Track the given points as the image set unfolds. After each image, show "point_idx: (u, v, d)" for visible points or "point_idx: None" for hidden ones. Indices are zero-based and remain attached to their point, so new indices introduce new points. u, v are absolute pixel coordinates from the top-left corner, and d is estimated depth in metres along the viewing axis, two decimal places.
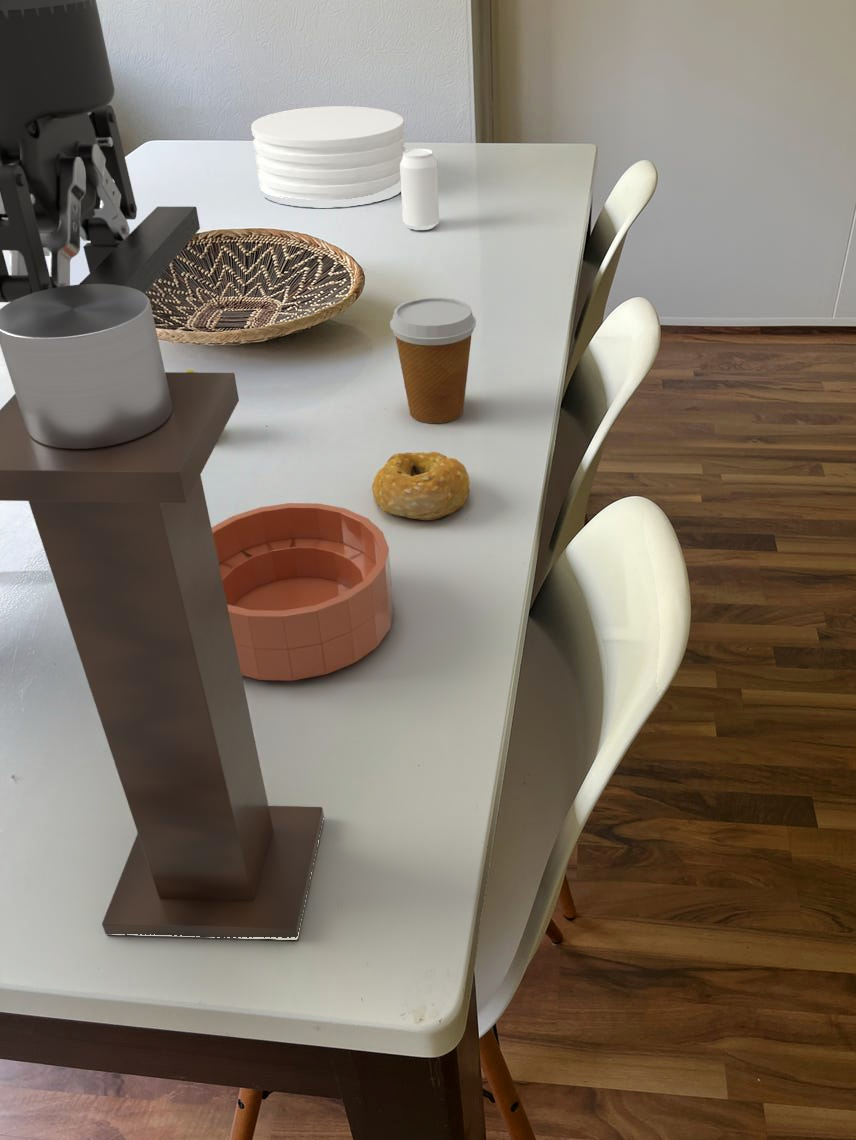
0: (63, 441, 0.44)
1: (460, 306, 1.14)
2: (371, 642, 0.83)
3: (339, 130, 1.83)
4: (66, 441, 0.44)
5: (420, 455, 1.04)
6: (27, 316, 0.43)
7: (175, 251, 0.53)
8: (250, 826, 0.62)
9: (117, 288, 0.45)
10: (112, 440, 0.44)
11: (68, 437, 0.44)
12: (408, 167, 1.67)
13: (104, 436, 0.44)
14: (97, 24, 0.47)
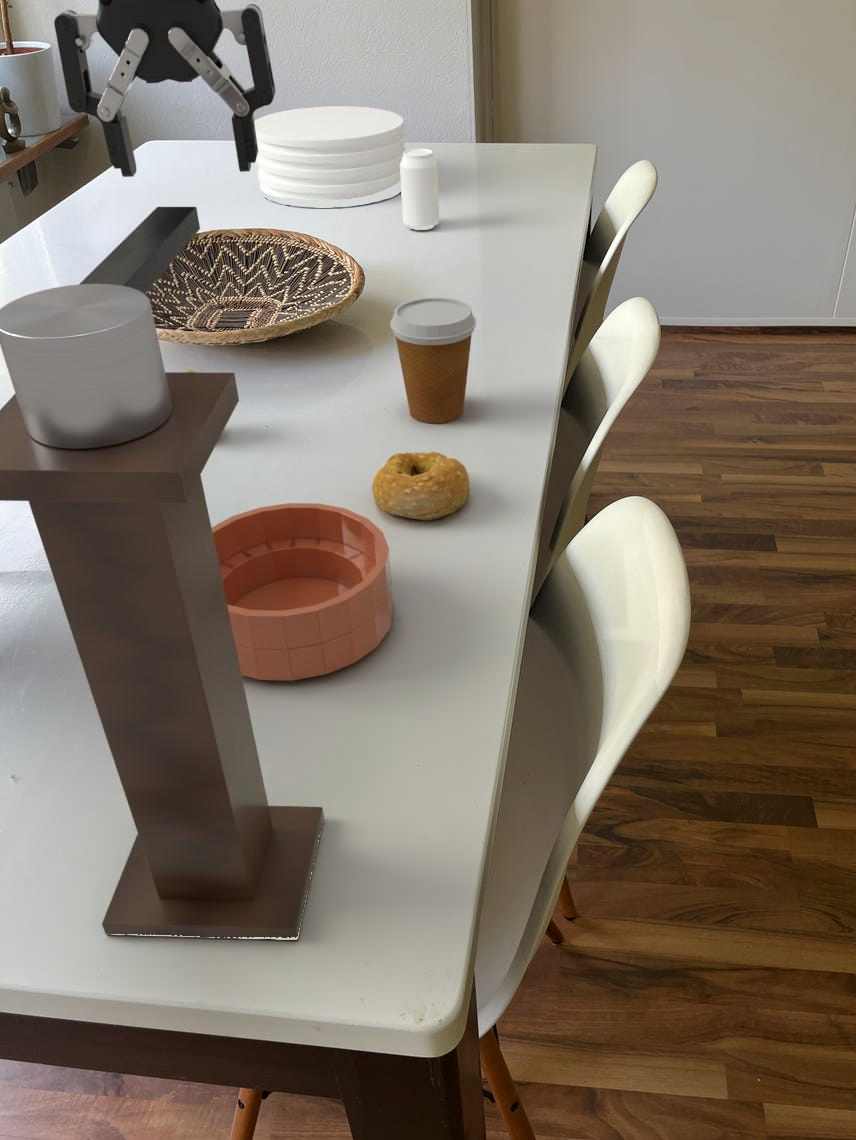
0: (63, 441, 0.44)
1: (460, 306, 1.14)
2: (371, 642, 0.83)
3: (339, 130, 1.83)
4: (66, 441, 0.44)
5: (420, 455, 1.04)
6: (27, 316, 0.43)
7: (175, 251, 0.53)
8: (250, 826, 0.62)
9: (117, 288, 0.45)
10: (112, 440, 0.44)
11: (68, 437, 0.44)
12: (408, 167, 1.67)
13: (104, 436, 0.44)
14: None
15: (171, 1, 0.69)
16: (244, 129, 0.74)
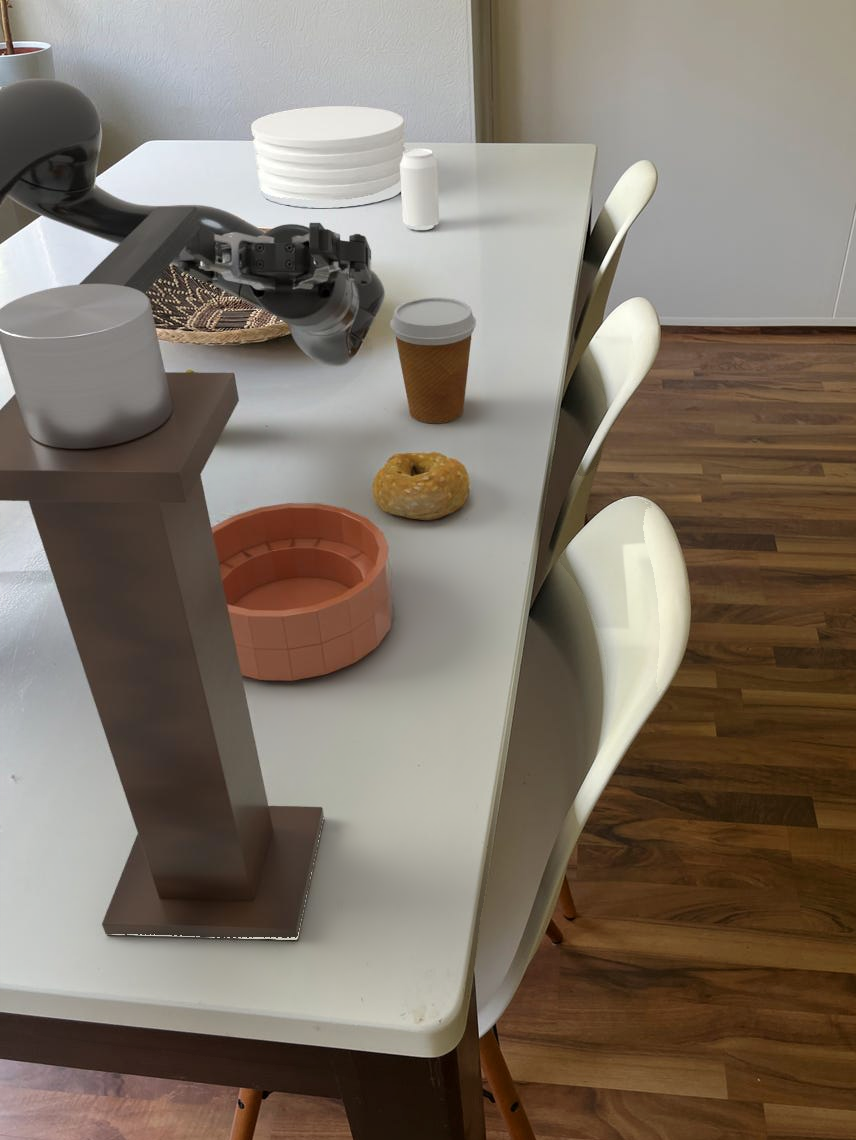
0: (63, 441, 0.44)
1: (460, 306, 1.14)
2: (371, 642, 0.83)
3: (339, 130, 1.83)
4: (66, 441, 0.44)
5: (420, 455, 1.04)
6: (27, 316, 0.43)
7: (175, 251, 0.53)
8: (250, 826, 0.62)
9: (117, 288, 0.45)
10: (112, 440, 0.44)
11: (68, 437, 0.44)
12: (408, 167, 1.67)
13: (104, 436, 0.44)
14: None
15: None
16: None
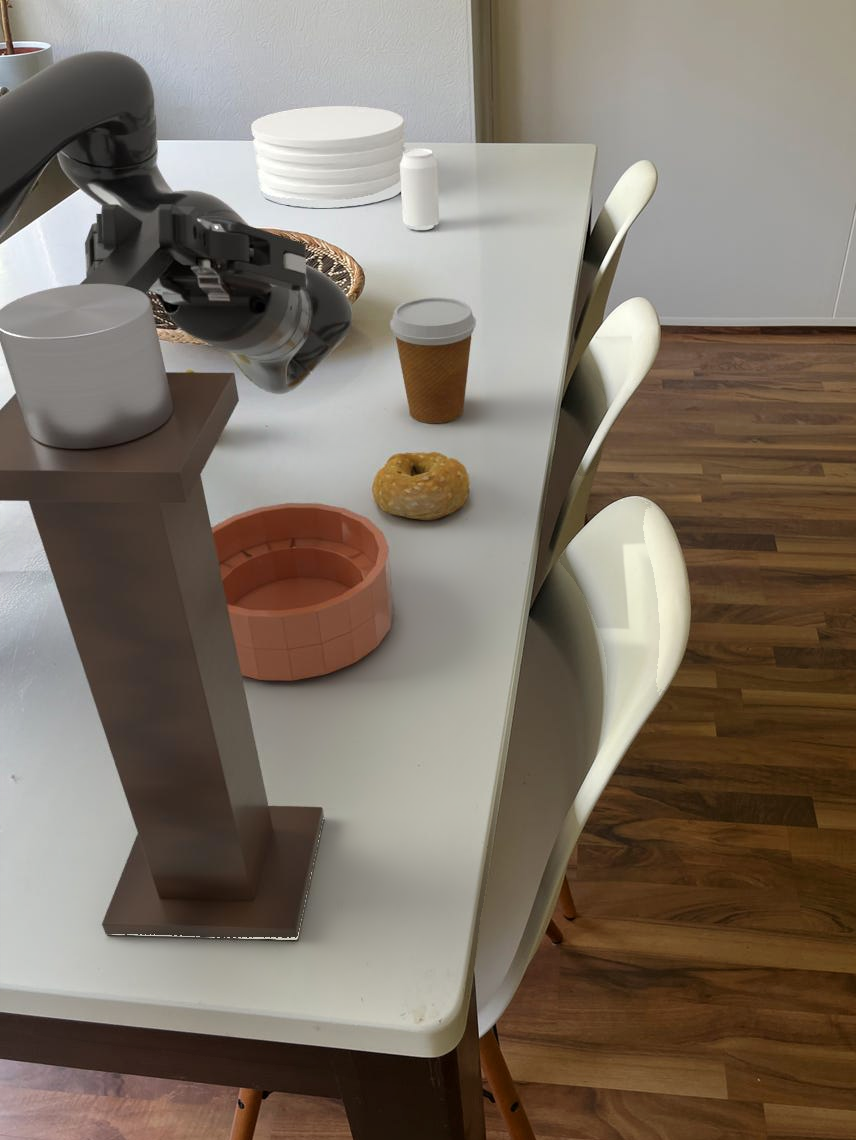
0: (64, 441, 0.44)
1: (460, 306, 1.14)
2: (371, 642, 0.83)
3: (339, 130, 1.83)
4: (67, 441, 0.44)
5: (420, 455, 1.04)
6: (27, 316, 0.43)
7: None
8: (250, 826, 0.62)
9: (118, 288, 0.45)
10: (113, 440, 0.44)
11: (69, 437, 0.44)
12: (408, 167, 1.67)
13: (104, 436, 0.44)
14: None
15: None
16: None
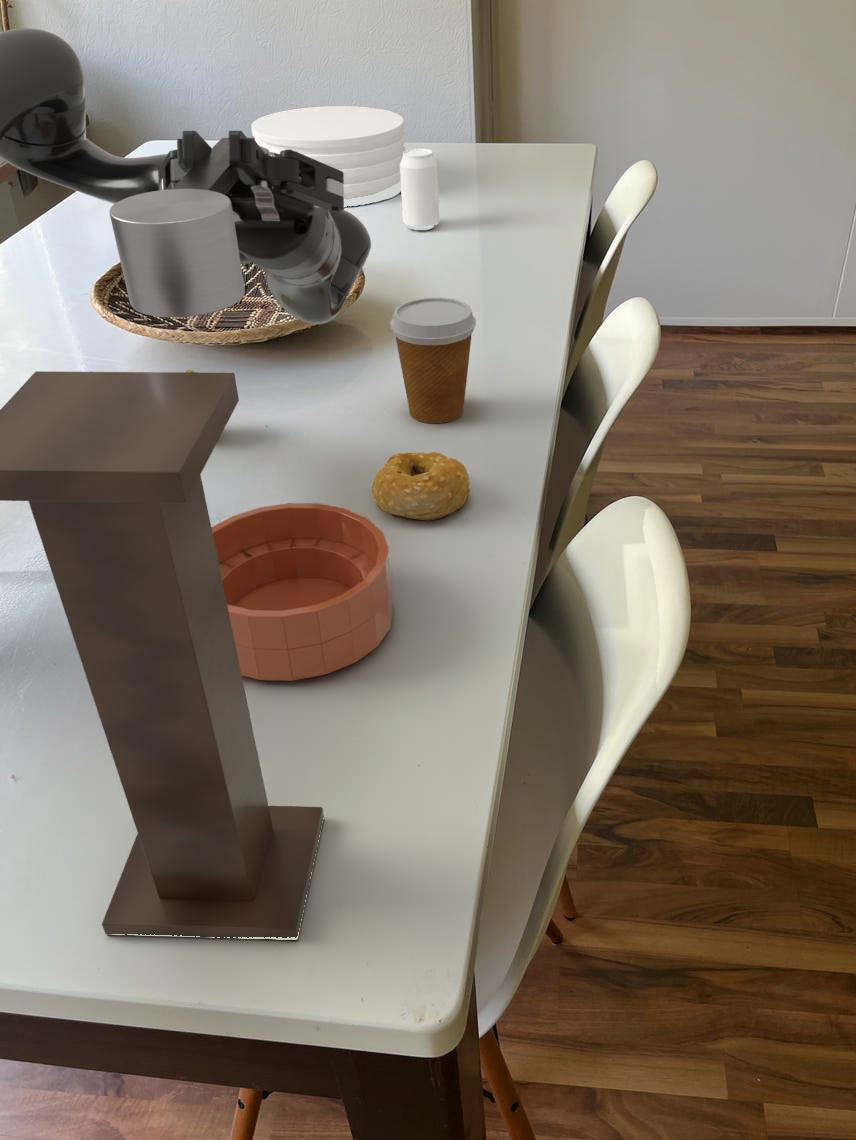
0: (162, 310, 0.55)
1: (460, 306, 1.14)
2: (371, 642, 0.83)
3: (339, 130, 1.83)
4: (165, 310, 0.55)
5: (420, 455, 1.04)
6: (135, 209, 0.54)
7: None
8: (250, 826, 0.62)
9: (203, 191, 0.57)
10: (201, 310, 0.56)
11: (167, 307, 0.55)
12: (408, 167, 1.67)
13: (194, 306, 0.55)
14: None
15: None
16: None
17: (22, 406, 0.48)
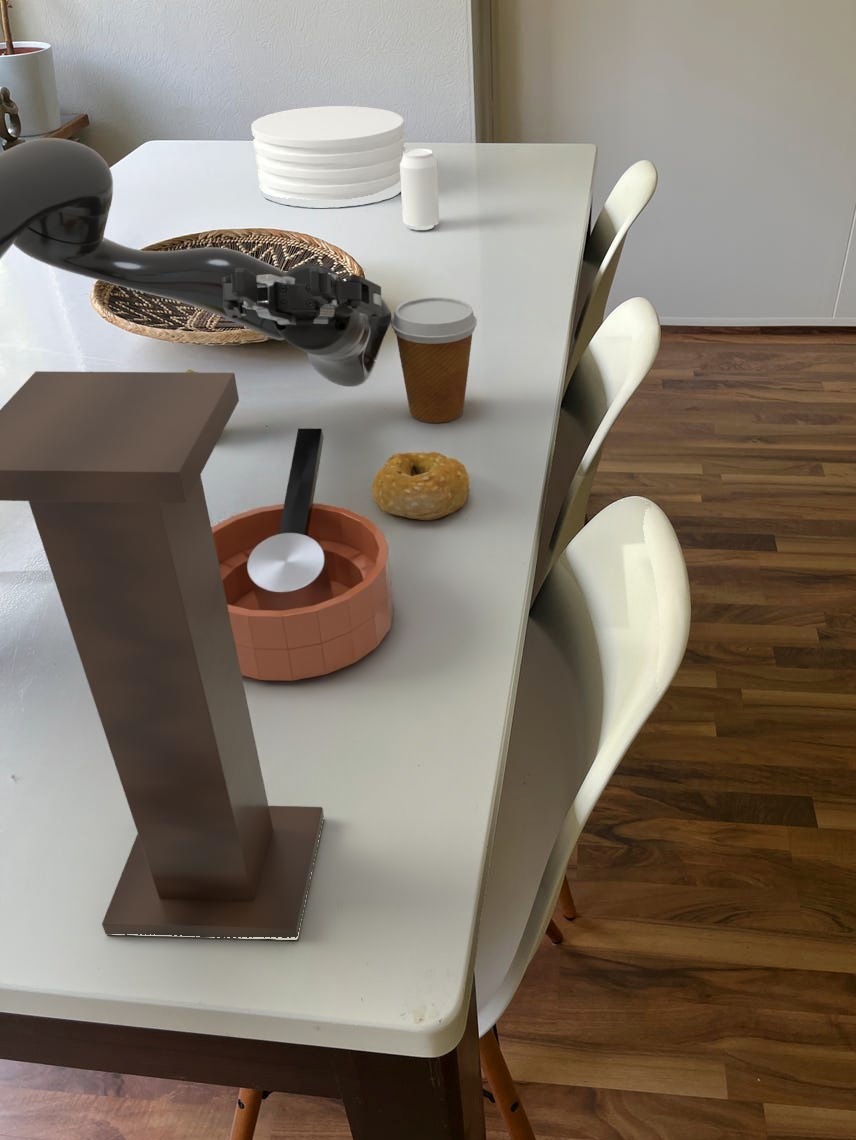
0: None
1: (461, 306, 1.14)
2: (371, 642, 0.83)
3: (339, 130, 1.83)
4: None
5: (420, 455, 1.04)
6: (264, 569, 0.84)
7: (317, 473, 0.91)
8: (250, 826, 0.62)
9: (303, 538, 0.85)
10: None
11: None
12: (408, 167, 1.67)
13: None
14: None
15: None
16: None
17: (22, 406, 0.48)
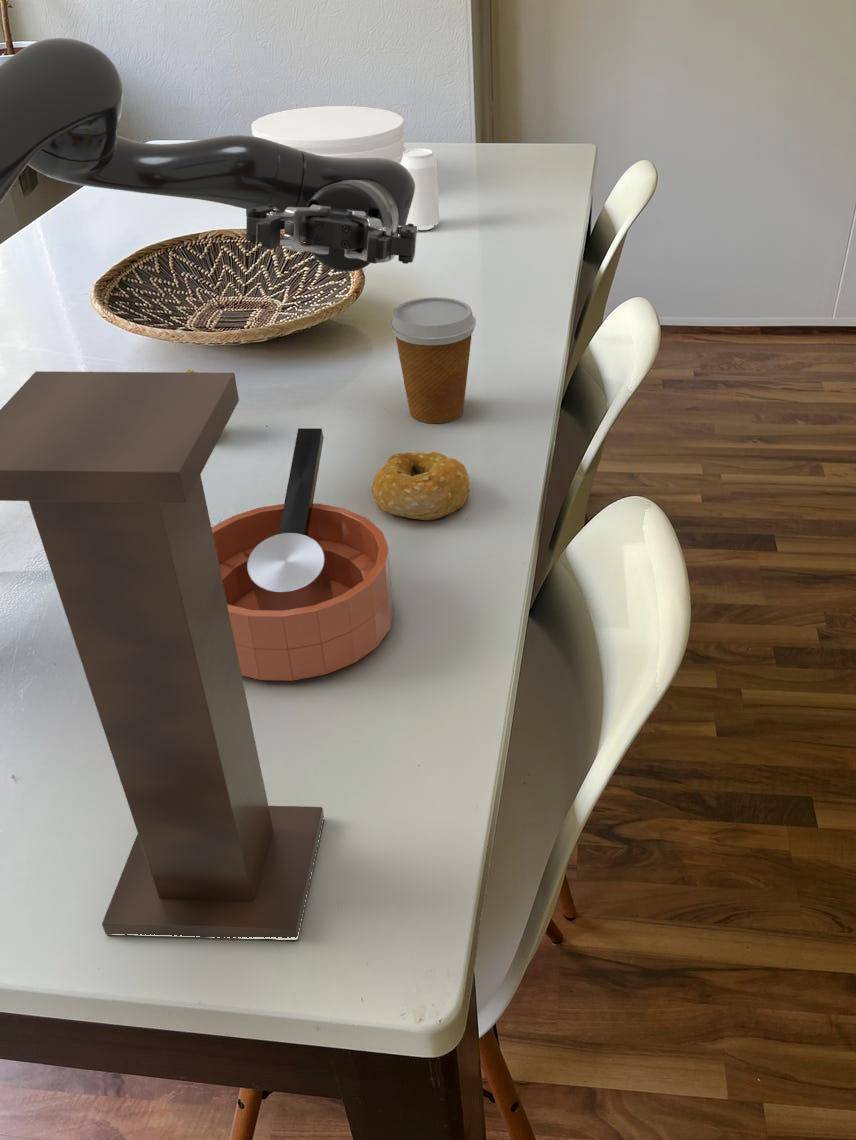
0: None
1: (460, 306, 1.14)
2: (371, 642, 0.83)
3: (339, 130, 1.83)
4: None
5: (420, 455, 1.04)
6: (264, 569, 0.84)
7: (317, 473, 0.91)
8: (250, 826, 0.62)
9: (303, 538, 0.85)
10: None
11: None
12: (408, 167, 1.67)
13: None
14: (354, 182, 0.93)
15: None
16: (382, 237, 0.84)
17: (22, 406, 0.48)
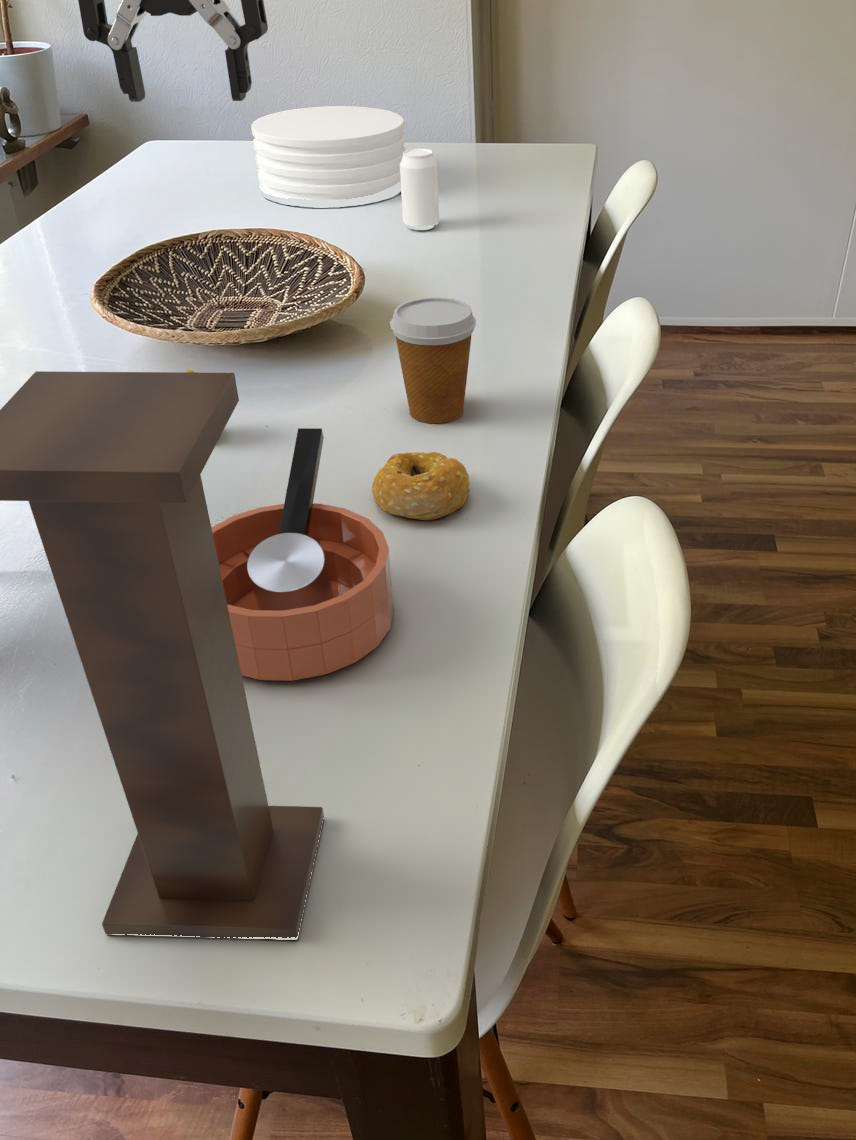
0: None
1: (460, 306, 1.14)
2: (371, 642, 0.83)
3: (339, 130, 1.83)
4: None
5: (420, 455, 1.04)
6: (264, 569, 0.84)
7: (317, 473, 0.91)
8: (250, 826, 0.62)
9: (303, 538, 0.85)
10: None
11: None
12: (408, 167, 1.67)
13: None
14: None
15: None
16: (237, 61, 0.82)
17: (22, 406, 0.48)
